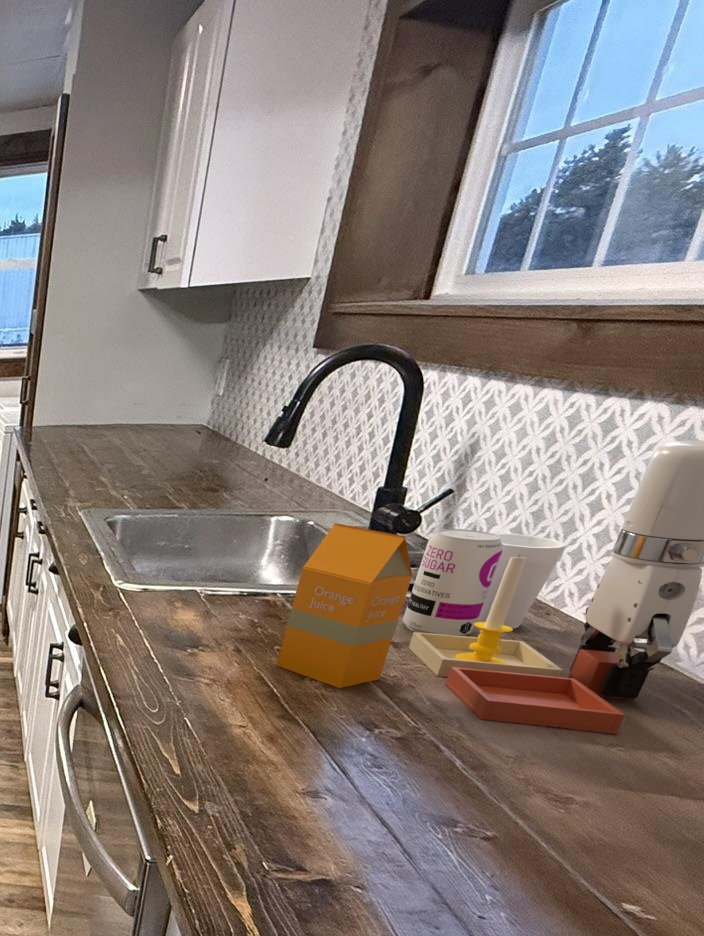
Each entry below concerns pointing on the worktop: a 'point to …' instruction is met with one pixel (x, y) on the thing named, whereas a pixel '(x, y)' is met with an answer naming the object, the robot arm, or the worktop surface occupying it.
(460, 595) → the supplement can
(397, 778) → the worktop surface
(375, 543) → the orange juice
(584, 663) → the terracotta block
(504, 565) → the foam cup
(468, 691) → the terracotta tray
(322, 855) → the worktop surface
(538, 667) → the cream tray
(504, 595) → the candle
